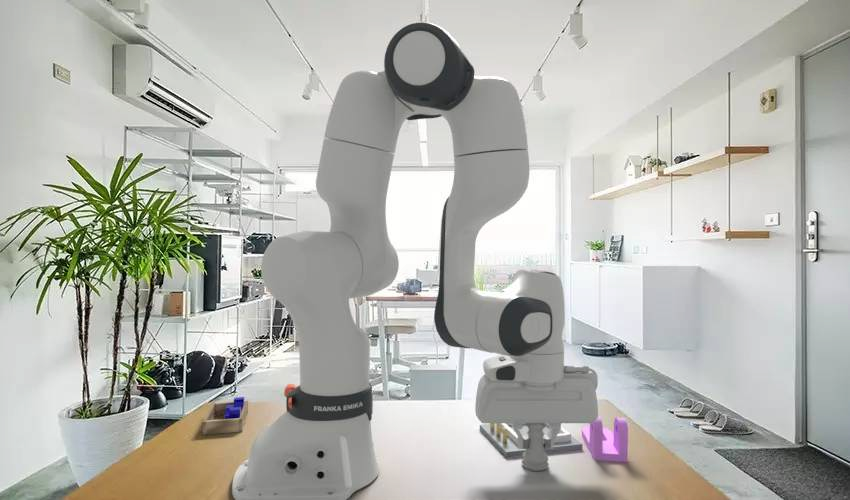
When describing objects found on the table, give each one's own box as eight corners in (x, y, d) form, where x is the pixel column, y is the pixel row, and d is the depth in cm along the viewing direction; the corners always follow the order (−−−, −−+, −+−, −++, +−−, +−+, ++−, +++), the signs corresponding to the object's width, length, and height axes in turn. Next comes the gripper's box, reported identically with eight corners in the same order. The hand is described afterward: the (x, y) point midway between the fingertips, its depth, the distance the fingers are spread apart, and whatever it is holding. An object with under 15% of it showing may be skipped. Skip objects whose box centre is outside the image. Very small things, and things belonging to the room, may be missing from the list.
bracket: (627, 462, 84) (628, 422, 84) (593, 460, 85) (594, 421, 85) (608, 433, 97) (608, 398, 97) (579, 431, 98) (579, 397, 98)
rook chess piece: (531, 457, 85) (531, 412, 85) (553, 466, 82) (554, 419, 82) (516, 465, 82) (516, 418, 82) (539, 474, 79) (540, 425, 79)
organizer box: (202, 434, 94) (202, 422, 94) (212, 414, 105) (212, 403, 105) (242, 431, 96) (242, 418, 96) (248, 412, 106) (248, 400, 106)
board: (506, 457, 85) (506, 437, 85) (479, 429, 98) (479, 412, 98) (582, 449, 89) (582, 430, 89) (547, 423, 102) (547, 406, 101)
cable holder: (227, 416, 104) (227, 398, 104) (244, 415, 105) (244, 396, 105) (221, 430, 96) (221, 410, 96) (239, 429, 97) (240, 409, 97)
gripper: (590, 361, 85) (589, 439, 86) (474, 361, 85) (473, 440, 85) (605, 370, 79) (603, 455, 79) (479, 370, 78) (478, 456, 79)
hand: (535, 447), depth 82 cm, fingers closed on rook chess piece, 3 cm apart
